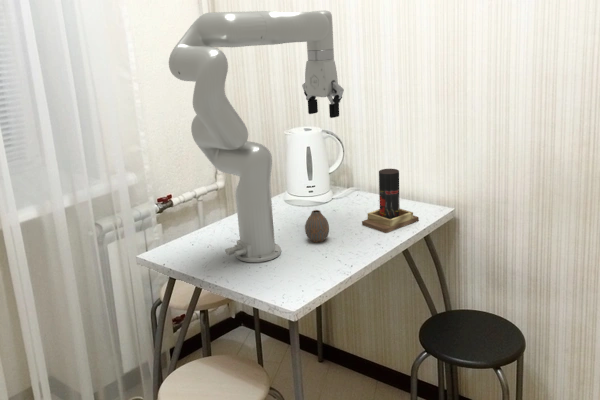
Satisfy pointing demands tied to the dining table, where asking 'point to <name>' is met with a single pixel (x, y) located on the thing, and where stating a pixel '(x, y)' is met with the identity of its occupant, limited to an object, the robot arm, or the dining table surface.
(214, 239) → the dining table surface
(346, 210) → the dining table surface
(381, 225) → the holder board
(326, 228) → the vase
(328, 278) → the dining table surface
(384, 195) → the deodorant
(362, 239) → the dining table surface
